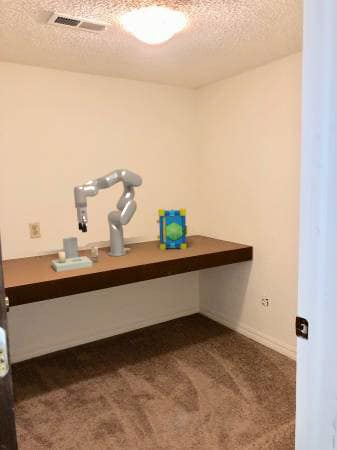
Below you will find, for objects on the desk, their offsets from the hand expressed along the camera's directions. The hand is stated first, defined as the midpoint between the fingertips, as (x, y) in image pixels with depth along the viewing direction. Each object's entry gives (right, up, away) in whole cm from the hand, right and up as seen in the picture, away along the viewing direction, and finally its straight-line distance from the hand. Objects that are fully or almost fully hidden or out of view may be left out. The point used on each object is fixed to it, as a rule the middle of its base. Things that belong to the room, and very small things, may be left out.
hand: (82, 231), depth 241 cm
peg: (+7, -21, +3) cm, 22 cm away
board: (-5, -23, -6) cm, 24 cm away
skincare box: (-11, -20, +13) cm, 26 cm away
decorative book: (+60, -14, +39) cm, 73 cm away
